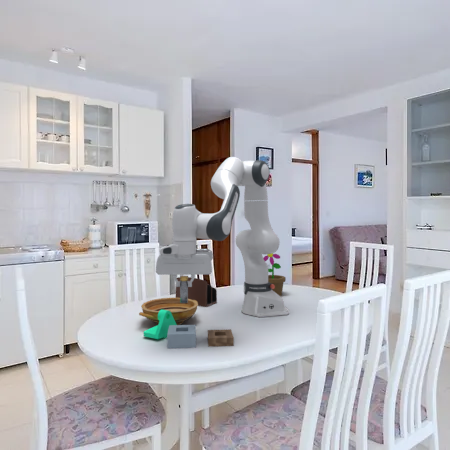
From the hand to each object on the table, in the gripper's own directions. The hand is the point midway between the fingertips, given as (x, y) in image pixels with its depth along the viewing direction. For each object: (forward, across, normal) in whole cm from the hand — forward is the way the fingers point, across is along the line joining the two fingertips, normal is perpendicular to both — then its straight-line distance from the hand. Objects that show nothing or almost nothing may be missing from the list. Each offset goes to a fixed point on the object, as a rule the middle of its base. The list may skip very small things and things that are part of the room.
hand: (183, 286), depth 134 cm
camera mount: (+21, +9, -10) cm, 25 cm away
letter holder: (+21, -5, -58) cm, 62 cm away
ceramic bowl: (+21, +6, -26) cm, 34 cm away
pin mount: (+21, -14, 0) cm, 25 cm away
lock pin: (+6, 0, 0) cm, 6 cm away
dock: (+21, 0, 0) cm, 21 cm away
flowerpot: (+20, -49, -71) cm, 89 cm away
